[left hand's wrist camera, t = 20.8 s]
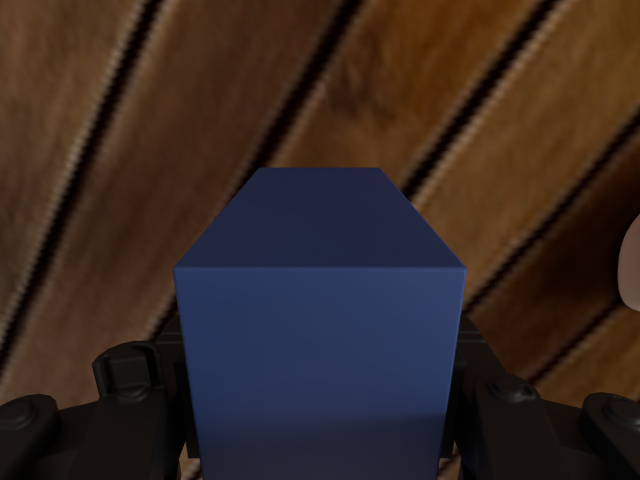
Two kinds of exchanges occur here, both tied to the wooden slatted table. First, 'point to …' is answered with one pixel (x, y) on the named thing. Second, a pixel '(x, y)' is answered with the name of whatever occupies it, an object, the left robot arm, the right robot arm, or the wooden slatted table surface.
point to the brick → (319, 330)
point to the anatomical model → (630, 266)
